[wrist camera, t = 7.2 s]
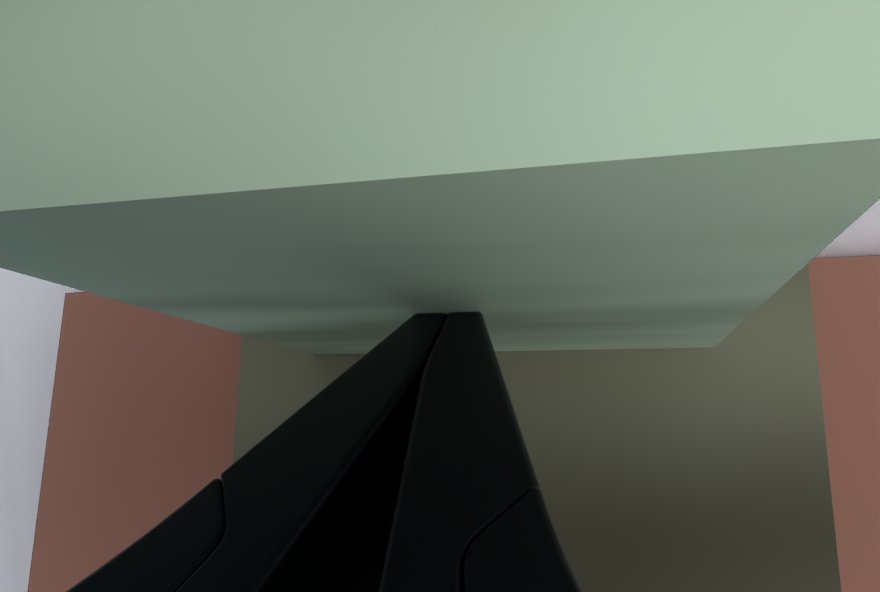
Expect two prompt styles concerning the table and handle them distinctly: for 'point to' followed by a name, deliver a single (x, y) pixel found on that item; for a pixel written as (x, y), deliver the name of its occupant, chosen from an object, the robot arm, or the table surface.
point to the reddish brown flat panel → (214, 413)
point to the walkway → (650, 451)
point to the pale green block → (437, 160)
